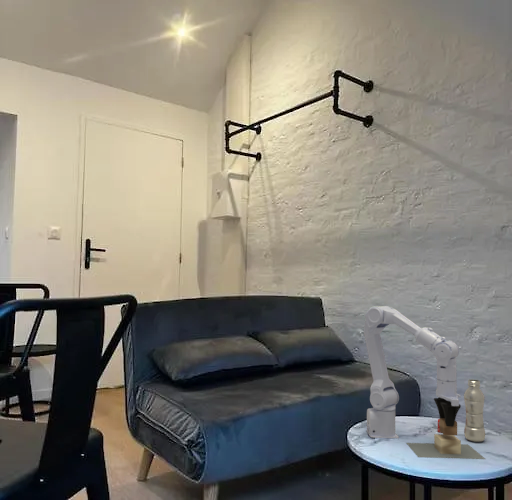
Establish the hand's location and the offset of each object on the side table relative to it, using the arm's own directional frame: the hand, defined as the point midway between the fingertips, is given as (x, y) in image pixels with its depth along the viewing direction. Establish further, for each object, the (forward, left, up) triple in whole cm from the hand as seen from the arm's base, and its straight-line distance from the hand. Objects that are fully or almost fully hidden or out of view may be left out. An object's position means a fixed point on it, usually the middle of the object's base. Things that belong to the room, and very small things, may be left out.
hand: (447, 424), depth 152 cm
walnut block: (0, 0, -3) cm, 3 cm away
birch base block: (0, 0, -8) cm, 8 cm away
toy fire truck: (+8, +24, -9) cm, 27 cm away
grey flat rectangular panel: (-1, 0, -8) cm, 8 cm away
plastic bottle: (+13, +11, -9) cm, 19 cm away
